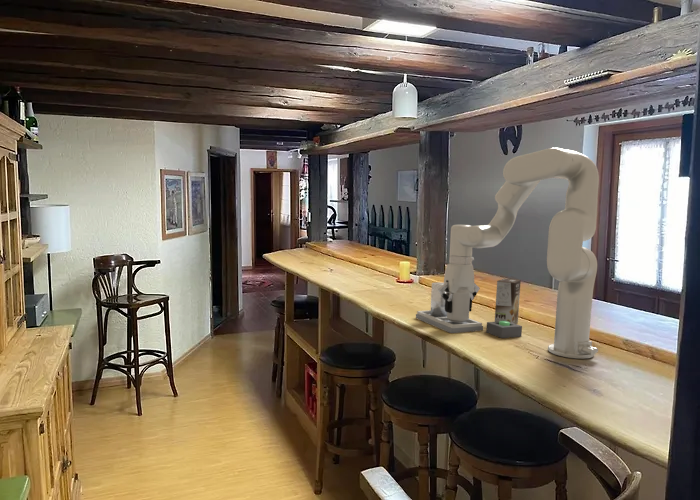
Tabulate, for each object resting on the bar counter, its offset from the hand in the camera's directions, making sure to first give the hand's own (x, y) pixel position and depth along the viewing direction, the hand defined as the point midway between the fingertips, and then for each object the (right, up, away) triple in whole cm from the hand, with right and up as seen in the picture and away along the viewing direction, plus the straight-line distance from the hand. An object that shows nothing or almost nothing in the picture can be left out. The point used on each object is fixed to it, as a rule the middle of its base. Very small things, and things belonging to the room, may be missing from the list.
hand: (458, 311), depth 185 cm
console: (+14, -7, -7) cm, 17 cm away
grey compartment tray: (-3, -5, +6) cm, 8 cm away
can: (0, -4, 0) cm, 4 cm away
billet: (-5, -3, +11) cm, 12 cm away
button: (+14, -6, -7) cm, 16 cm away
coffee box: (+19, -6, +9) cm, 22 cm away
